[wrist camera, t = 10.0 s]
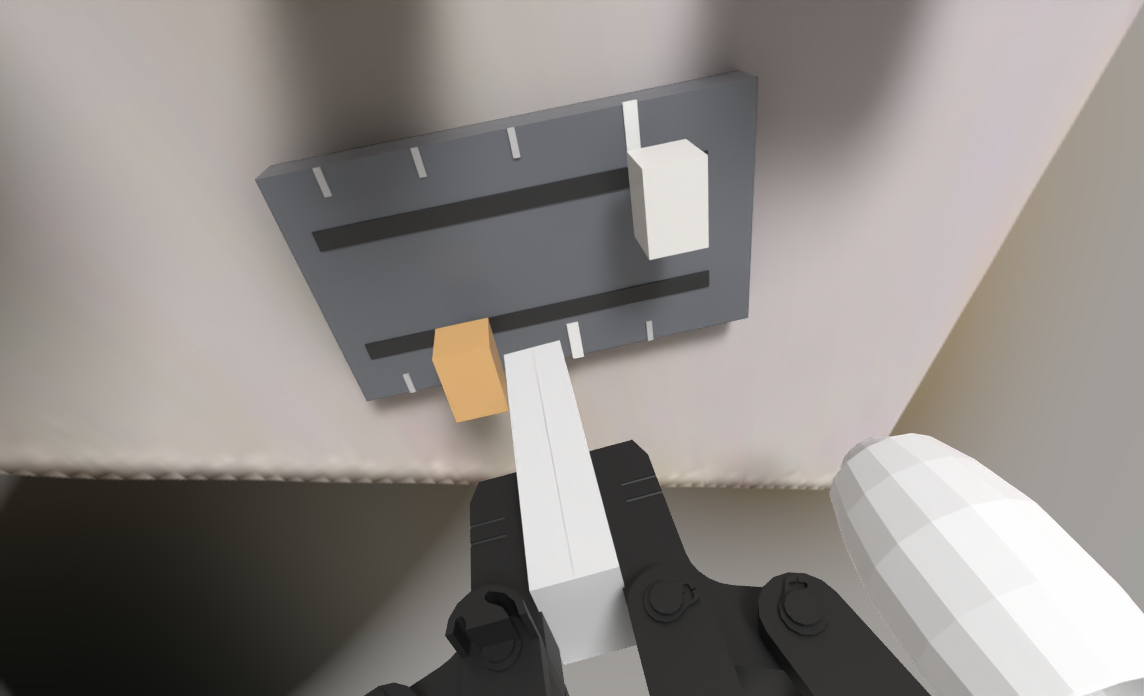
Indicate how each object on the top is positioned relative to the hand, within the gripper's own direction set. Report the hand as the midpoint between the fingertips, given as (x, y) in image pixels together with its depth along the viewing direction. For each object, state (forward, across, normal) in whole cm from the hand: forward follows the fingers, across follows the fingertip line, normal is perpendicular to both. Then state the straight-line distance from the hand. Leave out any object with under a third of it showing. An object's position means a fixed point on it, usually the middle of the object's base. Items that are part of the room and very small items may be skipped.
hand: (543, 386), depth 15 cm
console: (+14, +1, -2) cm, 14 cm away
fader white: (+12, +6, +1) cm, 13 cm away
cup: (+14, +14, -13) cm, 23 cm away
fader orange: (+12, -3, -5) cm, 13 cm away
